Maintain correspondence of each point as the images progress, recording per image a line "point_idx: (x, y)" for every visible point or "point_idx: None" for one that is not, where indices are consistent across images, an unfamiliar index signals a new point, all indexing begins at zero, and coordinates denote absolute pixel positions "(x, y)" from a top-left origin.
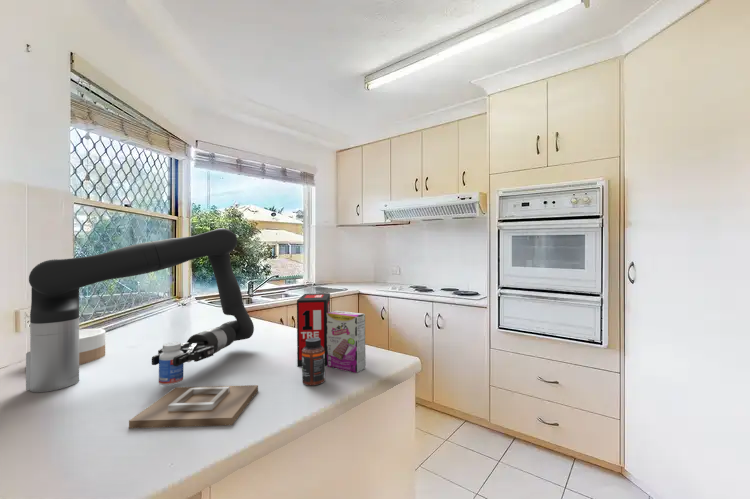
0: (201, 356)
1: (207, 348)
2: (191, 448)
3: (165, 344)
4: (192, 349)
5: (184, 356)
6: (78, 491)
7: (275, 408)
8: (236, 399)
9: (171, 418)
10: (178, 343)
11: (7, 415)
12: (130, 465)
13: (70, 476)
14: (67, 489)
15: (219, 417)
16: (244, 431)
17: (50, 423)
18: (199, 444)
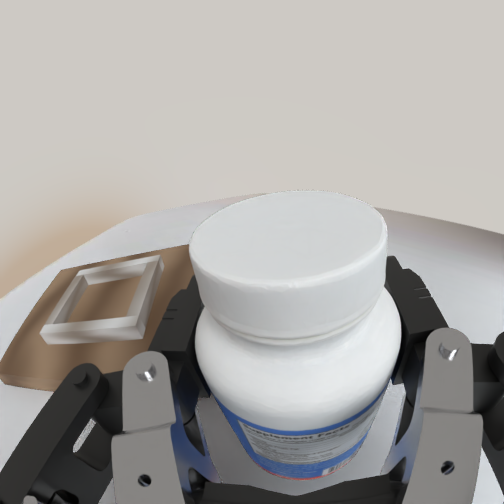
0: (93, 464)
1: (15, 459)
2: (112, 245)
3: (342, 203)
4: (128, 433)
5: (165, 328)
6: (195, 204)
7: (8, 319)
8: (43, 312)
9: (147, 254)
10: (212, 243)
11: (500, 234)
12: (168, 222)
13: (220, 206)
14: (207, 202)
15: (75, 268)
16: (56, 274)
17: (402, 234)
18: (104, 251)
